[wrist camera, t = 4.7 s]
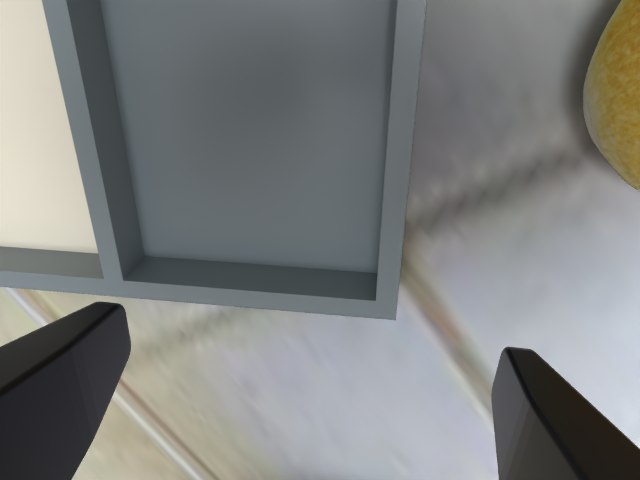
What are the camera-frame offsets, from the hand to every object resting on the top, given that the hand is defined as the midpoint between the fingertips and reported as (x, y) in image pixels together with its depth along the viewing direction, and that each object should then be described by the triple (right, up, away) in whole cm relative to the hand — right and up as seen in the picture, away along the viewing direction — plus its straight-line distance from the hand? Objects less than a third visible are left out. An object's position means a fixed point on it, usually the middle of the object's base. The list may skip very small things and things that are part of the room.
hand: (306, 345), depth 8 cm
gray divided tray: (-8, +6, +12) cm, 15 cm away
